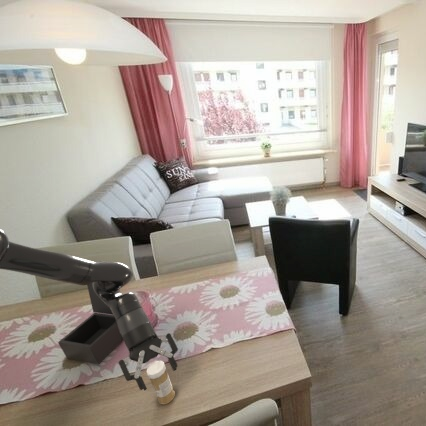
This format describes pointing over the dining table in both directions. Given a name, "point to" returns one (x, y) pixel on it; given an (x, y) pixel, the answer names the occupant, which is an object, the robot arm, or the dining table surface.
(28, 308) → the dining table surface
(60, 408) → the dining table surface
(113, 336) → the dark open box
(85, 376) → the dining table surface
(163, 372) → the sprinkles bottle
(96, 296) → the box lid
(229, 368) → the dining table surface
